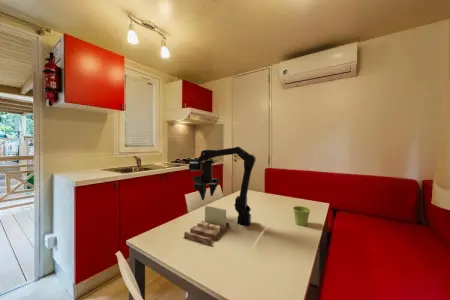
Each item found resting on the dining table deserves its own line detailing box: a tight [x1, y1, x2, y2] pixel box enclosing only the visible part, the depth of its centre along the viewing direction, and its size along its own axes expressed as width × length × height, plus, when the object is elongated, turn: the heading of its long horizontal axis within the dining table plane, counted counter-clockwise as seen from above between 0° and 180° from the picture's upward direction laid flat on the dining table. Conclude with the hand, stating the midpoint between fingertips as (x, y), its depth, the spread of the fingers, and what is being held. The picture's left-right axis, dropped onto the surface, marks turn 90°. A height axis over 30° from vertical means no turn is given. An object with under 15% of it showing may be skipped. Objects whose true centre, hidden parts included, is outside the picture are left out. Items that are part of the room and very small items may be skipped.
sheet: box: [204, 205, 227, 226], centre depth 99 cm, size 12×2×10 cm, turn 64°
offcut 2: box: [209, 224, 220, 234], centre depth 92 cm, size 5×2×4 cm, turn 64°
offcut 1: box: [196, 220, 208, 229], centre depth 95 cm, size 5×2×4 cm, turn 64°
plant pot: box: [292, 205, 312, 227], centre depth 107 cm, size 9×9×9 cm
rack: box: [182, 220, 231, 247], centre depth 93 cm, size 15×21×3 cm
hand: (207, 197), depth 109 cm, fingers open, 9 cm apart
